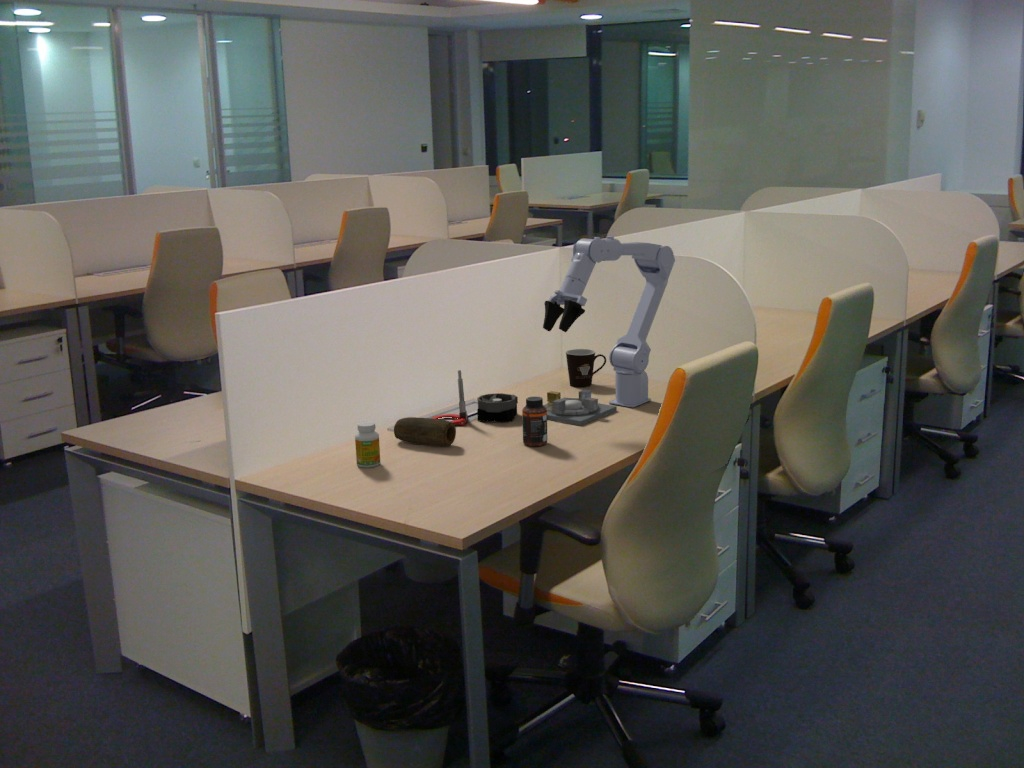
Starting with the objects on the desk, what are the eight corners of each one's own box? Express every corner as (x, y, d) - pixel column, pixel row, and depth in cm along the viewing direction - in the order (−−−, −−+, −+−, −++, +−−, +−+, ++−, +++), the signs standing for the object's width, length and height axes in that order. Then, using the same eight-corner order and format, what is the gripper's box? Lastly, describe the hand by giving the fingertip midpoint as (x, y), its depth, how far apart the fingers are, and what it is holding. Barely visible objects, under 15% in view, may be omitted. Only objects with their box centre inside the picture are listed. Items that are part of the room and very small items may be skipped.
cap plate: (564, 401, 276) (564, 391, 276) (616, 410, 266) (616, 399, 265) (527, 415, 263) (527, 404, 263) (580, 425, 253) (580, 414, 252)
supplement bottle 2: (552, 444, 238) (551, 399, 236) (531, 449, 235) (530, 402, 233) (539, 438, 243) (538, 393, 241) (518, 442, 240) (517, 397, 238)
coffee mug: (564, 388, 290) (564, 355, 288) (567, 381, 299) (567, 348, 296) (604, 389, 289) (604, 355, 286) (606, 382, 297) (606, 349, 294)
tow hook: (426, 429, 255) (465, 427, 254) (421, 376, 252) (460, 374, 251) (431, 419, 264) (468, 417, 263) (426, 368, 261) (464, 366, 260)
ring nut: (565, 398, 275) (565, 386, 274) (611, 406, 266) (611, 393, 265) (532, 410, 263) (532, 397, 262) (579, 419, 254) (579, 406, 253)
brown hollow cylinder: (459, 443, 242) (458, 416, 240) (446, 451, 235) (445, 424, 234) (405, 437, 247) (403, 411, 246) (391, 445, 241) (390, 418, 239)
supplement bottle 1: (361, 469, 223) (358, 428, 221) (353, 463, 228) (350, 422, 226) (384, 465, 226) (381, 424, 223) (375, 459, 231) (373, 419, 228)
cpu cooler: (473, 401, 257) (482, 391, 267) (474, 422, 259) (482, 412, 268) (512, 402, 255) (519, 392, 265) (513, 424, 257) (520, 413, 266)
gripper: (548, 275, 256) (527, 322, 254) (579, 273, 244) (557, 323, 242) (568, 287, 260) (548, 334, 257) (600, 287, 247) (579, 336, 245)
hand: (554, 330), depth 250 cm, fingers open, 7 cm apart
